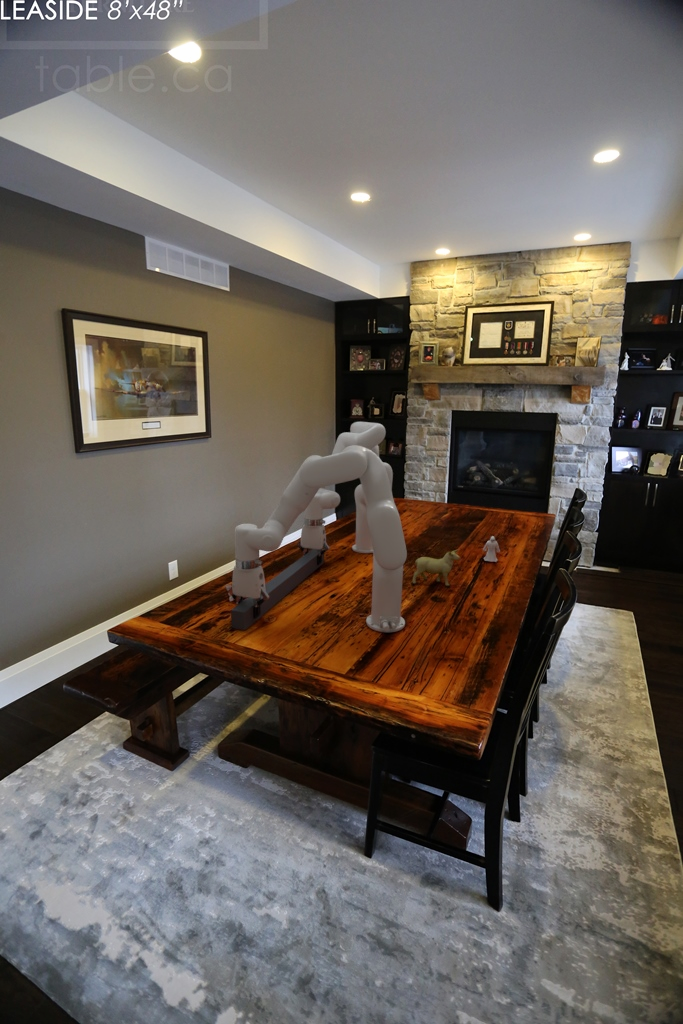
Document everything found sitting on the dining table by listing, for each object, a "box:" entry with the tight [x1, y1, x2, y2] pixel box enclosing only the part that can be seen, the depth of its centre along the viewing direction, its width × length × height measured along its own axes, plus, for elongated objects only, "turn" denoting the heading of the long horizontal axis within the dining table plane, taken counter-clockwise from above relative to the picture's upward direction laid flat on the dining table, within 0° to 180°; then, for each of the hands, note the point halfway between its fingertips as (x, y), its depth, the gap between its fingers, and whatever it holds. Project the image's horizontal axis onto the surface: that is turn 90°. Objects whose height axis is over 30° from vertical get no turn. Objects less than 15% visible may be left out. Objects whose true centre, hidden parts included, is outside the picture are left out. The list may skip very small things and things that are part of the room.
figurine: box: [482, 535, 501, 563], centre depth 223 cm, size 8×8×12 cm
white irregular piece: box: [224, 584, 247, 602], centre depth 178 cm, size 8×5×8 cm
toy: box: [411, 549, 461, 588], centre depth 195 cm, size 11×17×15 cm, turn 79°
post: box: [230, 548, 325, 631], centre depth 188 cm, size 68×5×6 cm, turn 160°
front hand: (249, 614), depth 163 cm, fingers closed on post, 5 cm apart
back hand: (313, 562), depth 213 cm, fingers closed on post, 4 cm apart
